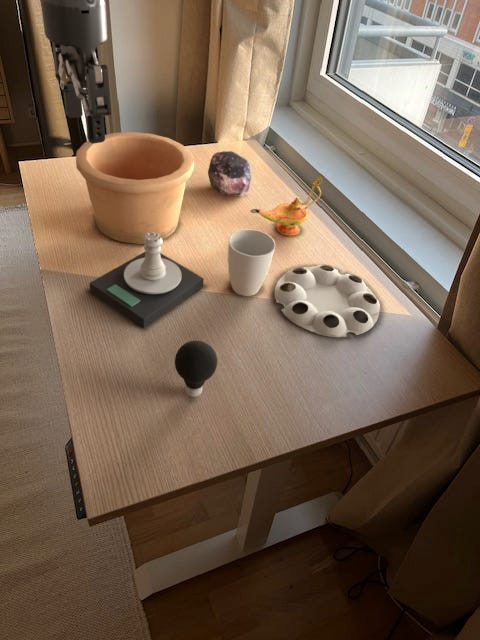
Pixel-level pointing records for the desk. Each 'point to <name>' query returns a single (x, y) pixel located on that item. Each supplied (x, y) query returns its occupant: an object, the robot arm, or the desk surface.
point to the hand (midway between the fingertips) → (85, 129)
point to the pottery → (135, 183)
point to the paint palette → (327, 300)
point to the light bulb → (195, 365)
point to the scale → (146, 289)
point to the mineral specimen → (229, 173)
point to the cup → (249, 260)
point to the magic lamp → (289, 213)
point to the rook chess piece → (152, 258)
